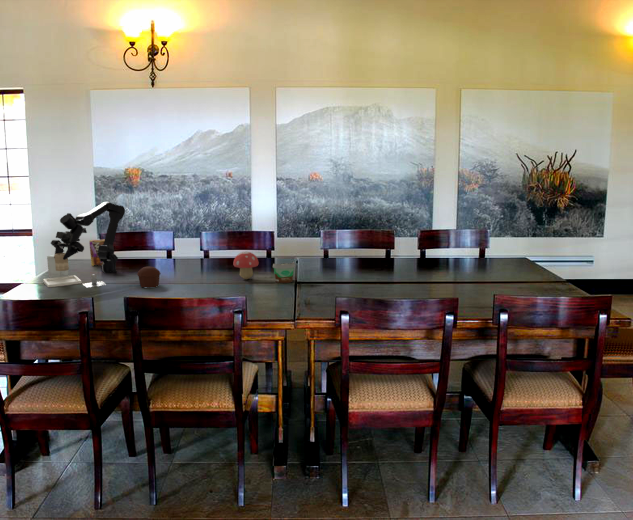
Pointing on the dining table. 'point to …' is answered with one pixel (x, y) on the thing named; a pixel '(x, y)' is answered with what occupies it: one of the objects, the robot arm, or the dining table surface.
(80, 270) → the dining table surface
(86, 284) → the white square pedestal
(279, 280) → the food container
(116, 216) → the robot arm
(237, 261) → the decorative mushroom
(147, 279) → the muffin
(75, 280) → the plastic tray
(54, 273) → the supplement box
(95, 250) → the candy box
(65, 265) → the wooden pen holder
